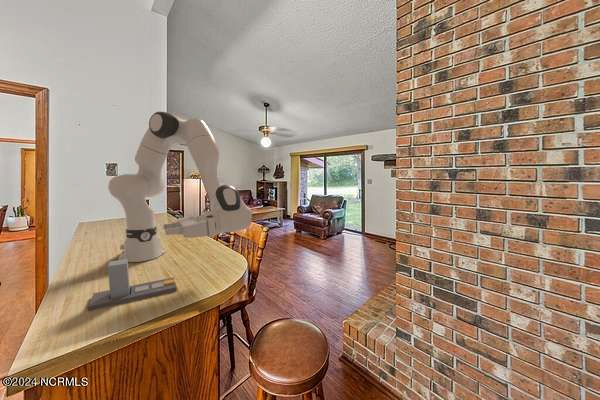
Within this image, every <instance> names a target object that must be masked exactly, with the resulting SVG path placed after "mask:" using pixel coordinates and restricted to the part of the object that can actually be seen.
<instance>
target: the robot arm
mask: <svg viewBox="0 0 600 400" xmlns="http://www.w3.org/2000/svg"><path fill="white" fill-rule="evenodd" d="M174 144H178V145H180V146H185V147H187V149H188V151H189V154H190V156H191V158H192V160H193V162H194V164H195V167H196V169H197V171H198V174H199V176H200V178H201V181H202V182H201V183H202V184H203V187H204V189H205V193H206V195H207V199H208V210H206V211H201V214H200V215H197V216H187V217H179V218H176V221H173V222H169V223H164V224H163V230H164V233H165V236H170V235H178V236H179V235H182V236H183V238H186V239H187V238H188V239H192V238H193V239H194V238H202V237H208V238H213V237H216V235H221V234H223V233H235V232H240V231H243V230H246V229H248V228H249V227H250V226H251V224H252V221H253V211H252V209H251V208H250V207H249V206H248V205H246V203H245V202H244V200H243V198H242V197H241V195H240V191H239V190H238V189H237V188H236V186H233V185H231V184H222V185H221V184H220V180H219V176H218V164H219V159H220V151H219V147H218V144H217V141H216V139H215V136H214V135H213V133H212V131H211V130H210V128H209V127H208V125H207V124H206V123H205V122H204V121H203V119H200V118H197V117H193V118H189V119H185V118H184V117H180V116H177V115H174V114H171V113H169V112H165V111H155V112H154V113H153V114H152V115H151V117H150V118H149V122H148V129H147V130H146V131H145V133H144V135H143V137H142V139H141V141H140V144H139V146H138V149H137V151H136V153H135V155H134V161H135V163H136V164H137V165H138V171H137V172H136V173H131V174H130V173H125V174H120V175H116V176H113V177H111V179H110V180H109V182H108V186H107V187H108V192H109V193H110V195H111V196H112V197H113V198H114V199H116V200H118V202H120V204H121V206H122V208H123V211H124V214H125V222H126V229H125V240H124V242H123V244H120V245H119V249H120V252H119V255H118V260H125V259H128V263H138V262H139V263H140V262H146V261H147V262H148V261H151V260H153V259H156V258H159V257H160V256H161V255H163V254H165V253H166V250H164V249H163V248H162V238H161V237H160V236H159V235H158V232H157V231H158V229H157V226H156V217H155V216H156V215H155V210H154V209H153V208H152V206H151V207H150V206H149V204H148V203H147V199H146V198H151V197H155V196H158V195H160V194H162V192H163V191H164V189H165V182H164V180H163V179H162V169H163V167H164V165H165V162H166V158H167V157H168V154H169V152H170V149H171V147H172V145H174Z"/></svg>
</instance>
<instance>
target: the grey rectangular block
mask: <svg viewBox="0 0 600 400" xmlns="http://www.w3.org/2000/svg"><path fill="white" fill-rule="evenodd" d="M129 270H130V269H129V262H128V259H125V260H119V259H117V260H112V261H109V262H108V265H107V271H108V272H107V273H108V282H109V283H108V285H109V290H110V298H111V299H113V298H118V297H122V296H127V295H130V286H131V284H130V271H129Z"/></svg>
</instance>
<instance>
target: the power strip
mask: <svg viewBox="0 0 600 400" xmlns="http://www.w3.org/2000/svg"><path fill="white" fill-rule="evenodd" d="M177 291H178V289H177V283H176V280H175V277H168V278H164V279H158V280H154V281H149V282H143V283H139V284H132V285H130V295H127V296H122V297H118V298H113V299H111V298H110V289H108V290H104V291H99V292H94V293H93V294H92V296H91V299H90V300H89V303H88V305H87V310H88V312H90V311H94V310H98V309H102V308H107V307H111V306H115V305H120V304H125V303H130V302H132V301H137V300H143V299H146V298H151V297H156V296H160V295H164V294H169V293H173V292H177Z"/></svg>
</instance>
